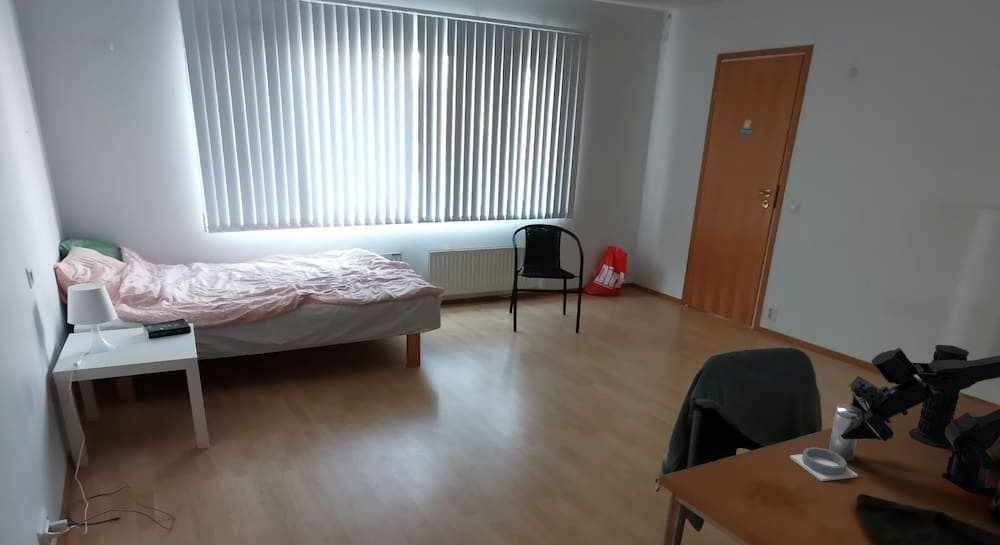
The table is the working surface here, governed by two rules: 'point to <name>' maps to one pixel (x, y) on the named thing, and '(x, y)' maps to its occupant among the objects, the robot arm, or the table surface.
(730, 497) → the table surface
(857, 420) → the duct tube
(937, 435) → the handle grip
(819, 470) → the flange collar
